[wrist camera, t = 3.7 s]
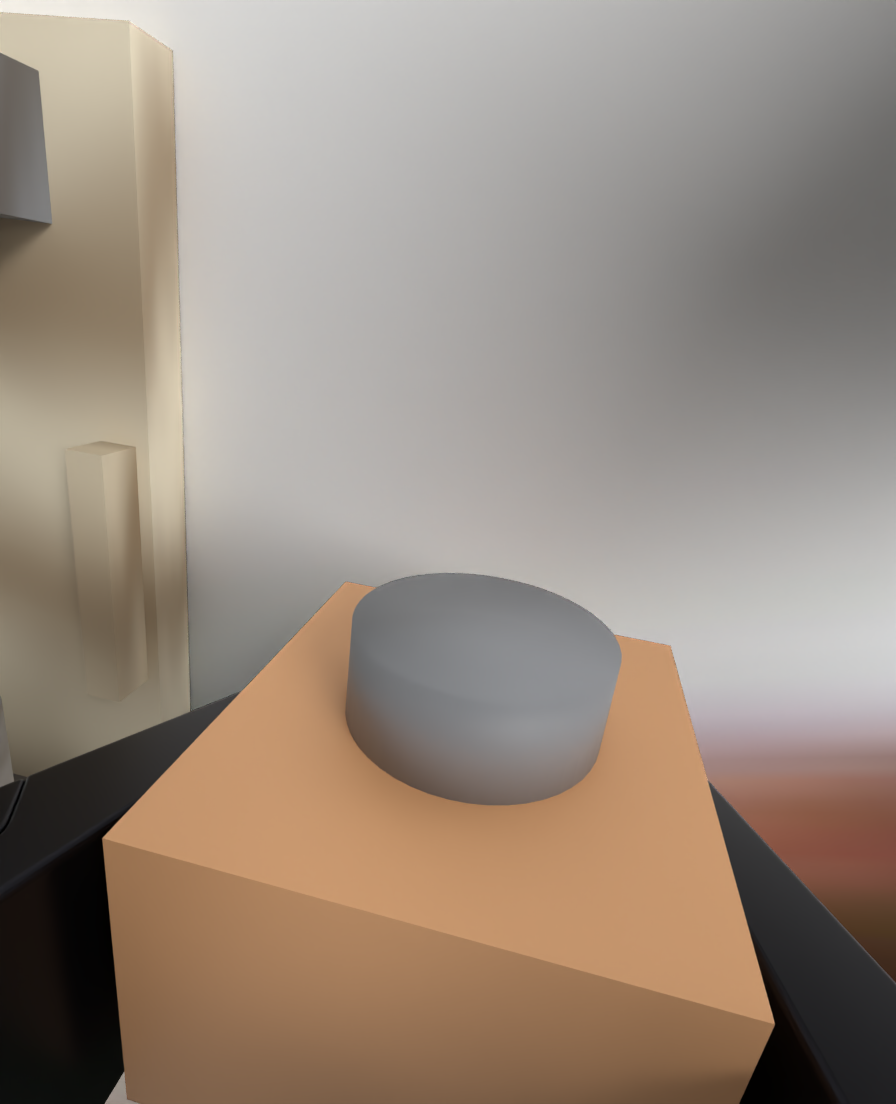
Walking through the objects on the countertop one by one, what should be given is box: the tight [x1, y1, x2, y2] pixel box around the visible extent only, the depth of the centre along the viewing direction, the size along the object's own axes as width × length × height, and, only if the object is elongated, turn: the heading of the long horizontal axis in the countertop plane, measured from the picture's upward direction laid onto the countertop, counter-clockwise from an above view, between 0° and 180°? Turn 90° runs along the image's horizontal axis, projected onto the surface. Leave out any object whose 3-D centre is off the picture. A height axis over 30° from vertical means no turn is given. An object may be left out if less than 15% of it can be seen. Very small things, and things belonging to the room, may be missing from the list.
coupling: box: [102, 573, 775, 1104], centre depth 7 cm, size 5×5×5 cm
